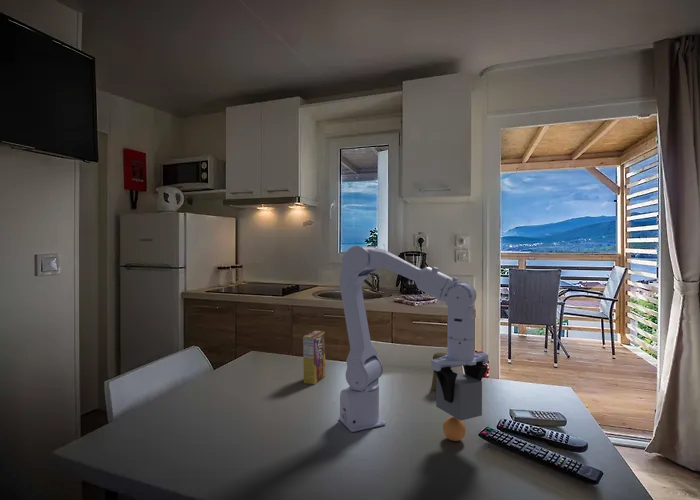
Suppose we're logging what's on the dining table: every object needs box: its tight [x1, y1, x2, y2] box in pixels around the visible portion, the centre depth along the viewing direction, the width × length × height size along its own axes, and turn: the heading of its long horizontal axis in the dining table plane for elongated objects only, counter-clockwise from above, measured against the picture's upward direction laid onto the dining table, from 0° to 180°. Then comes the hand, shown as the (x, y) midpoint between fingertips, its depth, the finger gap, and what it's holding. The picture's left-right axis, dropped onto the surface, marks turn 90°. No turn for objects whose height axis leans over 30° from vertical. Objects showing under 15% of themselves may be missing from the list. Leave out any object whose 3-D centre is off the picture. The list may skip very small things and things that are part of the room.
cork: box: [430, 352, 447, 392], centre depth 118 cm, size 6×6×11 cm
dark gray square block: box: [435, 370, 483, 421], centre depth 85 cm, size 6×8×7 cm
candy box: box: [302, 330, 327, 385], centre depth 126 cm, size 9×4×15 cm, turn 160°
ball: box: [442, 416, 467, 442], centre depth 87 cm, size 5×5×5 cm
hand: (460, 398), depth 84 cm, fingers closed on dark gray square block, 6 cm apart
